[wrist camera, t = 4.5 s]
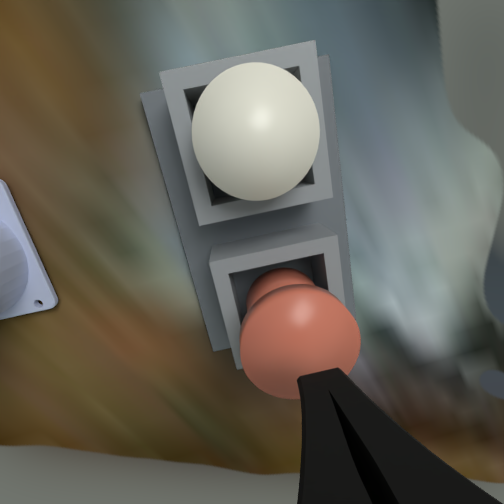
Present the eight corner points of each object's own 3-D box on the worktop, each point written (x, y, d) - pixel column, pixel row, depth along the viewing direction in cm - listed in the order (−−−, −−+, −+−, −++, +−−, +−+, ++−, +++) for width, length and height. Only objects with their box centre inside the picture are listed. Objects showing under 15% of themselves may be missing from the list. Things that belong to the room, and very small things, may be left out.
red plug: (247, 348, 17) (253, 410, 13) (228, 269, 15) (227, 309, 11) (331, 330, 17) (364, 385, 13) (320, 249, 15) (355, 281, 11)
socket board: (213, 346, 20) (210, 386, 17) (143, 96, 15) (116, 75, 12) (352, 315, 20) (379, 348, 17) (325, 58, 16) (354, 26, 12)
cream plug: (214, 199, 16) (209, 212, 12) (191, 102, 15) (175, 77, 10) (301, 181, 16) (326, 186, 12) (287, 82, 15) (310, 49, 11)
